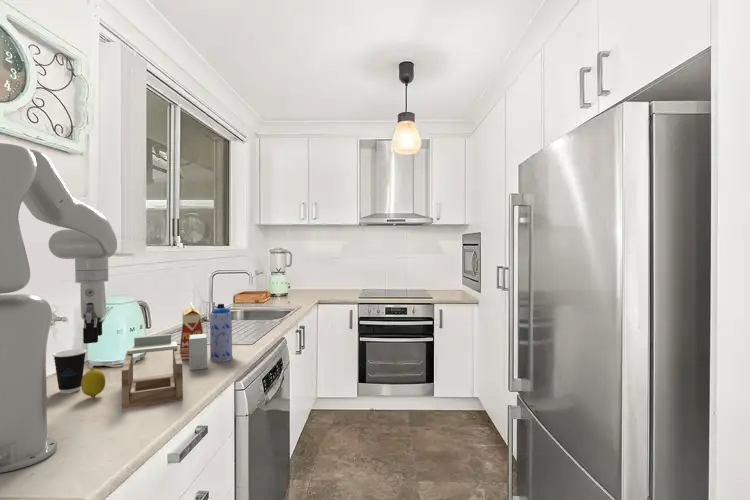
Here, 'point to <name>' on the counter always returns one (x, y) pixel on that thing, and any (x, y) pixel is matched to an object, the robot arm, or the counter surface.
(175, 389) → the walnut box
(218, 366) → the counter surface
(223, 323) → the aerosol can
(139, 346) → the lid
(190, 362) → the small box
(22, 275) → the robot arm
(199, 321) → the milk carton
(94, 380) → the lemon
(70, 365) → the dixie cup
